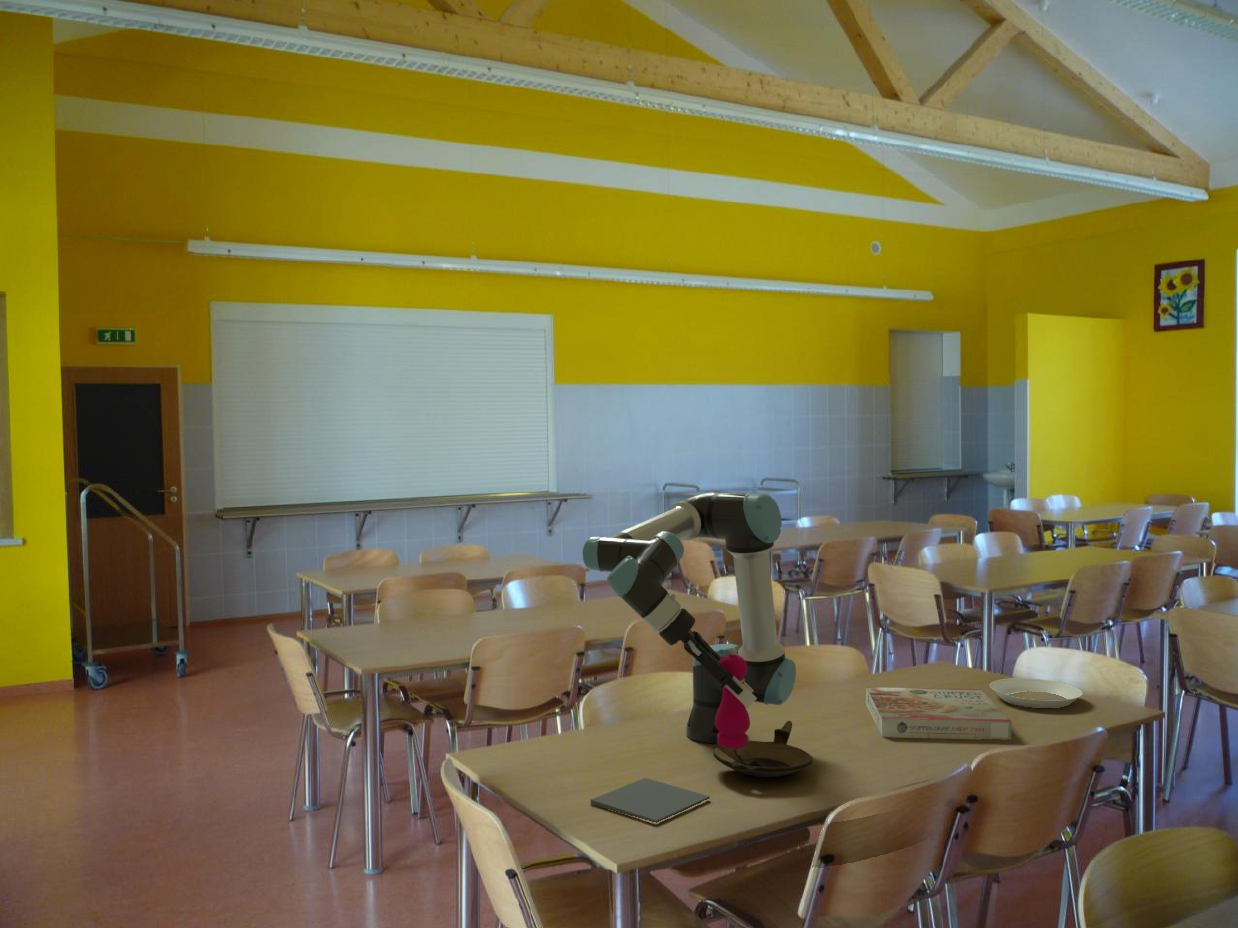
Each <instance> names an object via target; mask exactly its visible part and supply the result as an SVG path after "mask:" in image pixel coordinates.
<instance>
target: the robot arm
mask: <svg viewBox="0 0 1238 928" xmlns="http://www.w3.org/2000/svg"><path fill="white" fill-rule="evenodd" d="M781 528H782V515H781V511H780V508H779V506H778V504H777V502H776V500H775V499H774V498H772V496H770V495H769V494H767V493H759V492H755V491H747V492H746V491H745V492H743V491H719V490H718V491H717V490H714V491H708V492H704V493H703V492H702V493H699V494H695V495H693V496H690V497H687V498H684V499H682V500H680V501H678V502H675V503H674V504H672V505H671V506H670V507H669V509H668V511H665V512H662V513H661V514H657V515H656V516H653V517H651V518H648V519H646V520H644V521H642V522H639V523H637V524H636V525H633V526H631V527H628V528H626V529H624V530H621V531H619V532H617V533H614V534H612V535H608V536H603V535H599V536H590V537H589V538H587V540H586V541H585V542H584V545H583V547H582V560H583V563H584V565H585V567H586V568H588V569H589V570H593V571H598V572H599V573H602V572H606V573H608V575H607V578H606V582H607V583H608V585H609V586H610V587H611V589H612V590H613V591H614V592H615V593H616V594H617V596H618V597H620V598H621V599H622V600H623V601H624V602H625V603H626V604H627V605H629V607H631V609H632V610H634V612H635V613H637V614H638V616H640V617H641V619H642V620H643V621H644V622H645V623H646V624H647V625H648V626H649V627H650V628H651V629H652V630H653V631H655V632H658V634H659V636H660V637H661V639H663V640H664V641H665V642H666V643H667V644H668V645H669V646H674V645H676V644H678V642H679V641H681V642H682V643H683V646H684V647H683V649H684V650H685V651H686V652H687V653H688V654H689V655H690V656H692V659H693V660H692V666H691V667H692V701H693V702H692V708H691V710H690V715H689V717H688V721H687V723H686V734H685V735H686V737H688V738H689V739H691V740H693V741H696V740H697V741H696V742H700V741H701V742H700V743H705V742H706V744H718V743H717V735H718V733H720V732H719V730H718V729H717V728H716V726H715V717H716V713H717V711H718V709H719V706H720V704H721V701H722V694H723V689H722V688H723V687H724V686H725V687H726V688H727V689H728V690H729V691H730V692H731V693H732V694H733V695H734V696H735V697H737V698H738V699H739V700H740V701H741V702H742V703H743V704H744V705H745V707H746V709H748V708H749V707H750V706H751V705H753V703H759V704H764V705H773V706H774V705H775V706H781V705H783V704H785V703H786V702H787V700H788V699H789V698H790V696H791V694H792V693H793V689H794V687H795V682H796V677H797V668H796V663H795V662H794V660H793V659H792V658H790V657H786V652H785V647H784V646H783V645H782V644H781V643H780V642H779V641H778V634H777V633H778V632H777V625H776V623H777V622H776V614H775V604H774V593H773V583H772V573H771V564H770V563H771V562H770V555H769V553H770V551H771V550H772V549H773V548H774V547H775V542H776V541H777V540H778V538H779V537H780V535H781V531H782V530H781ZM696 538H698V539H699V538H707V539H708V538H709V539H718V540H724V541H725V542H724V543H725V549H726V552H728V553H729V554H731V555H732V556H733V557H732V558H733V564H734V565H733V567H734V575H735V582H736V583H735V585H736V586H735V587H736V592H737V603H738V604H737V605H738V610H739V619H740V620H739V621H740V623H739V624H740V631H741V641H742V645H741V646H740V648H739V646H738V645H737V644H735V643H720V644H719V643H718V644H717V643H716V644H712V645H709V643H708V642H707V641H706V640H705V639H704V638H703V637H702V635H701V634H700V633H699V632H698V631H696V630H691V629H692V628H693V627H694V626H695V624H696V618H695V617H694V616H693V615H692V614H691V613H690V612H689V611H688V610H687V609H686V608H681V607H682V606H681V604H680V603H679V602H678V601H677V600H676V598H677V595H676V594H674V593H673V594H671V595H670V593H669V592H668V590H667V589H666V588H664V586H663V585H662V584H663V583H664V582H665V580H666V579H667V578H668V577H669V576H670V574H671V573H672V572H673V571H674V569H676V568H677V566H678V565H679V563H680V561H681V559H682V558H683V556H684V553H685V548H684V545H683V543H682V541H691V540H694V539H696ZM731 647H734V648H735V649H736V650H737V653H736V655H739V656H741V657H742V658H743V659H744V660H745V661H746V664H747V672H746V674H745V675H744V676H743V678H744V679H745V681H744V683H745V685H743V684H742V683H741V682H740V681H739V680H738V679H737V678H736V677H735V676H733V675H732V674H730V673H729V672H728V671H727V670H726V669H725V668H724V666H723V665H722V664H721V663H720V662H719V661H720V659H721V658H722V657H724V656H726V655H729V653H728V650H729V648H731ZM720 684H721V685H720Z"/></svg>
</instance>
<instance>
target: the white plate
mask: <svg viewBox="0 0 1238 928" xmlns="http://www.w3.org/2000/svg"><path fill="white" fill-rule="evenodd" d="M989 687H990V689H992V690H993V691H994V693H996V694H997V695H998V696H999V697H1000V699H1001V700H1003V701H1004V702H1005V701H1006V702H1005V703H1007V702H1008V704H1010V703H1011V704H1010V705H1013V704H1014V705H1013V706H1016V705H1020V706H1019V707H1021V706H1024V707H1023V708H1027V707H1032V708H1031V709H1035V708H1057V707H1064V706H1067V707H1068V705H1069V706H1070V705H1071V704H1072V703H1073V702H1075V701H1076V700H1077V699H1078V698H1080V697H1081V696H1083V695H1084V692H1083V690H1082V689H1080V688H1079V687H1077V686H1074V685H1072V684H1069V683H1065V682H1061V681H1056V680H1050V679H1043V678H1042V679H1041V678H1031V677H1030V678H1024V677H1017V678H1015V677H1012V678H1002V679H998V680H993V681H992V682H990V683H989ZM1027 691H1030V692H1031V691H1032V692H1034V691H1035V692H1047V693H1051V694H1056V695H1059V696H1062V697H1064V698H1066V699H1067V700H1034V699H1025V698H1019V697H1014V696H1009V694H1014V693H1019V692H1027ZM1064 708H1065V707H1064Z"/></svg>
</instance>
